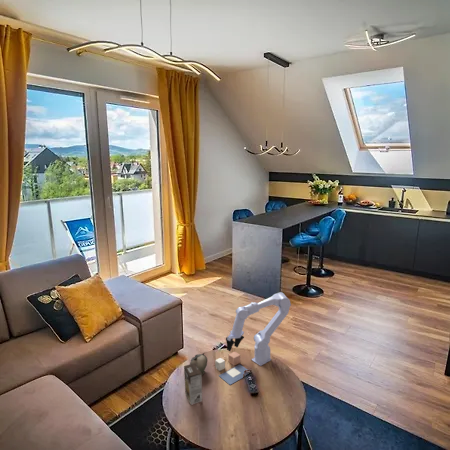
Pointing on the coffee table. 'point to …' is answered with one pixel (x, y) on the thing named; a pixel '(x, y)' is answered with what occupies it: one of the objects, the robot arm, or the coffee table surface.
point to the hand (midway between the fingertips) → (232, 348)
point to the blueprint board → (233, 374)
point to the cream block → (220, 364)
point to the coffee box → (193, 383)
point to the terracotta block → (234, 358)
